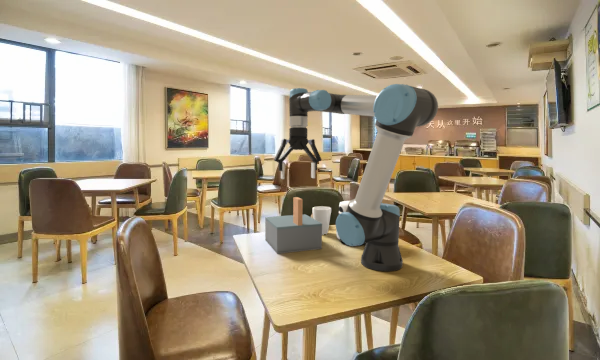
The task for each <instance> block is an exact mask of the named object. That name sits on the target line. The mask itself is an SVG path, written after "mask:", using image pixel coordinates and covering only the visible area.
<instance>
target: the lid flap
mask: <svg viewBox="0 0 600 360" xmlns="http://www.w3.org/2000/svg"><path fill="white" fill-rule="evenodd" d="M292 199H293V202H292V204H293V205H292V206H293V207H292V208H293V209H292V211H293V212H292V213H293V214H291V215H278V216H265V219H266V220H267V221H268V222H269V223H270V224H271V225H272V226H273V227H275V228H276V229H277V230H280V229H292V228H303V227H315V226H322V223H320V222H318V221H316V220H315V219H313V218H311V216H309V215H307V214H305V213H304V214H303V206H304V205H303V201H304V200H303V198H300V197H298V196H295V197H293V198H292Z"/></svg>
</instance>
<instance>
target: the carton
mask: <svg viewBox="0 0 600 360" xmlns="http://www.w3.org/2000/svg"><path fill="white" fill-rule="evenodd" d="M264 223H265V224H264V227H265V229H264V231H265V232H264V233H265V242H266V243H267V244H268V245H269V246H270V247H271V249H272V250H274V251H273V252H275V253H276V254H286V253H295V252H303V251H304V252H305V251H313V250H322V249H323V245H322V244H323V235H322V226H315V227H303V228H292V229H280V230H277V229H276V228H275V227H273V226H272V225H271V224H270V223H269V222H268V221H267V220H266V219H265V221H264Z"/></svg>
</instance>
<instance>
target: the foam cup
mask: <svg viewBox="0 0 600 360" xmlns="http://www.w3.org/2000/svg"><path fill="white" fill-rule="evenodd" d="M312 213H313V218H314V219H315V220H316V221H318V222H320V223H322V236H325V235H324V234H326V235H328V234H327V233H329V227H330V220H331V213H332V207H330V206H323V205H321V206H314V207H312ZM312 213H311V214H312Z"/></svg>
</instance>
